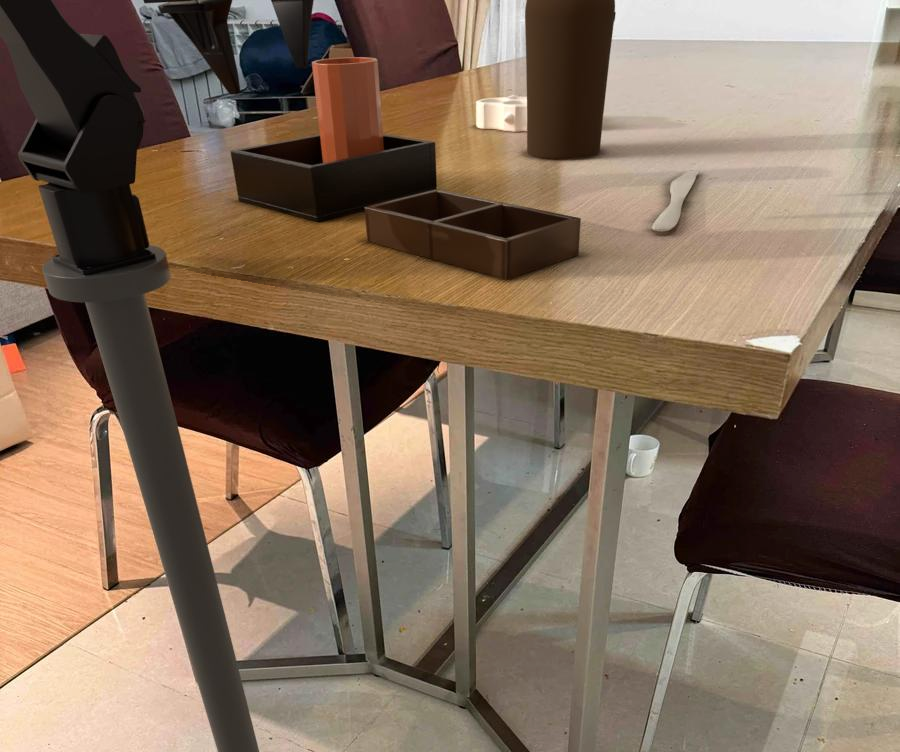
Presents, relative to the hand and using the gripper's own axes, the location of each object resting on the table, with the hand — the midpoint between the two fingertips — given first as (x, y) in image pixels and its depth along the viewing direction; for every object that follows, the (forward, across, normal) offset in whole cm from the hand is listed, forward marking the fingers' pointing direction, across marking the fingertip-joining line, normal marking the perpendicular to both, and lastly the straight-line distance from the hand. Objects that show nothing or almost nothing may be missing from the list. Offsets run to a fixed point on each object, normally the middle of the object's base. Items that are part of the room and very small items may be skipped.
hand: (269, 80), depth 75 cm
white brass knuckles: (+20, +61, +6) cm, 64 cm away
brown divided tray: (+13, 0, -19) cm, 23 cm away
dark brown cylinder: (+18, +43, -7) cm, 47 cm away
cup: (+14, +14, +4) cm, 20 cm away
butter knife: (+16, +24, -30) cm, 42 cm away
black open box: (+14, +11, +5) cm, 18 cm away
